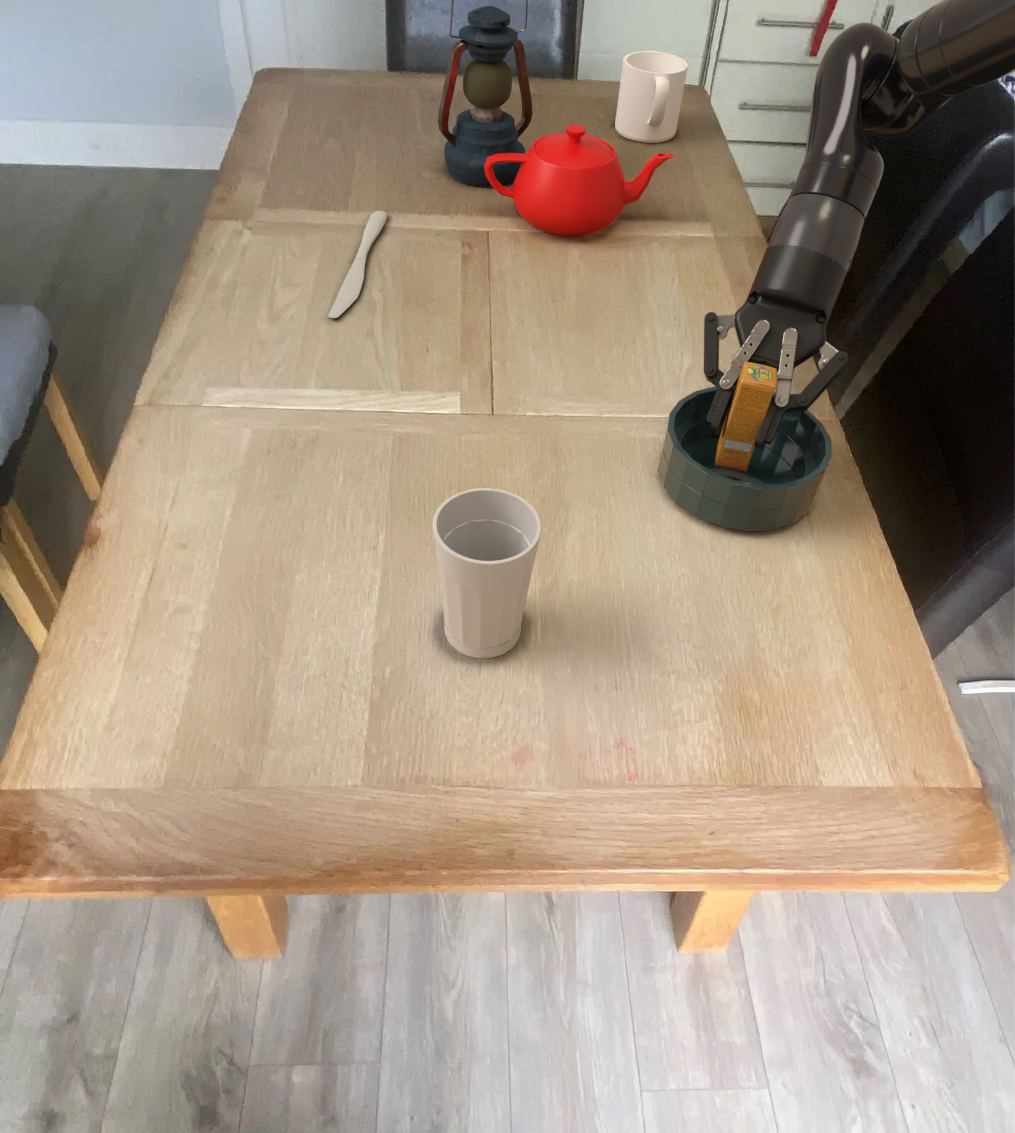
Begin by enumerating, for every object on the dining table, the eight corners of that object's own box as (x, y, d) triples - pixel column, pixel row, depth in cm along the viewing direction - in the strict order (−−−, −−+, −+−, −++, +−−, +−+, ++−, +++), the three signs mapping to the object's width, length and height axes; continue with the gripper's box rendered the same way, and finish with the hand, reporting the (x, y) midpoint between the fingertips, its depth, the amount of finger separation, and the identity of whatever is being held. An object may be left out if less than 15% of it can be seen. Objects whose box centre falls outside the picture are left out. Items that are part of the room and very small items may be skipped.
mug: (610, 117, 151) (618, 50, 143) (669, 119, 151) (680, 51, 144) (622, 149, 142) (632, 79, 135) (684, 150, 143) (697, 80, 135)
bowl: (810, 446, 93) (828, 399, 89) (814, 549, 83) (835, 501, 79) (664, 422, 95) (674, 375, 90) (650, 520, 85) (661, 471, 80)
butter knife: (395, 211, 123) (373, 207, 123) (346, 319, 105) (321, 315, 105) (395, 215, 123) (373, 211, 123) (347, 324, 105) (321, 320, 105)
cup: (523, 673, 72) (533, 571, 63) (424, 658, 72) (421, 554, 64) (536, 599, 77) (548, 495, 68) (445, 585, 78) (445, 480, 69)
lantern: (454, 195, 128) (456, -107, 103) (425, 161, 136) (420, -129, 110) (544, 182, 133) (567, -111, 107) (512, 149, 140) (526, -132, 114)
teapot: (481, 242, 119) (484, 148, 111) (483, 189, 130) (486, 100, 121) (669, 250, 120) (686, 158, 111) (655, 197, 131) (671, 109, 122)
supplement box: (750, 473, 86) (777, 387, 79) (713, 467, 87) (737, 380, 79) (752, 451, 88) (778, 365, 81) (716, 445, 89) (739, 359, 81)
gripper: (729, 224, 80) (658, 407, 82) (890, 266, 76) (813, 458, 78) (733, 254, 87) (668, 422, 89) (880, 294, 83) (810, 469, 85)
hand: (736, 438), depth 83 cm, fingers closed on supplement box, 3 cm apart
